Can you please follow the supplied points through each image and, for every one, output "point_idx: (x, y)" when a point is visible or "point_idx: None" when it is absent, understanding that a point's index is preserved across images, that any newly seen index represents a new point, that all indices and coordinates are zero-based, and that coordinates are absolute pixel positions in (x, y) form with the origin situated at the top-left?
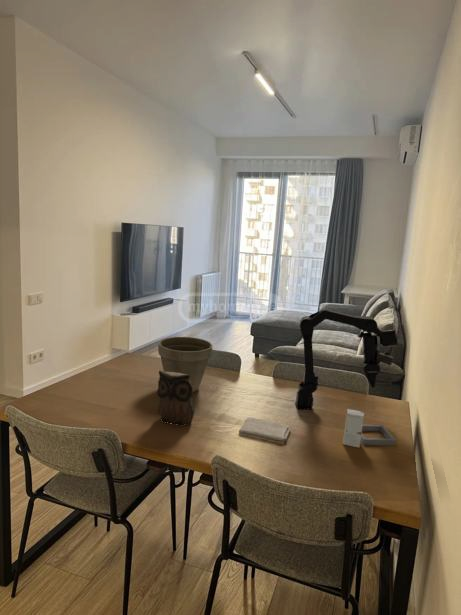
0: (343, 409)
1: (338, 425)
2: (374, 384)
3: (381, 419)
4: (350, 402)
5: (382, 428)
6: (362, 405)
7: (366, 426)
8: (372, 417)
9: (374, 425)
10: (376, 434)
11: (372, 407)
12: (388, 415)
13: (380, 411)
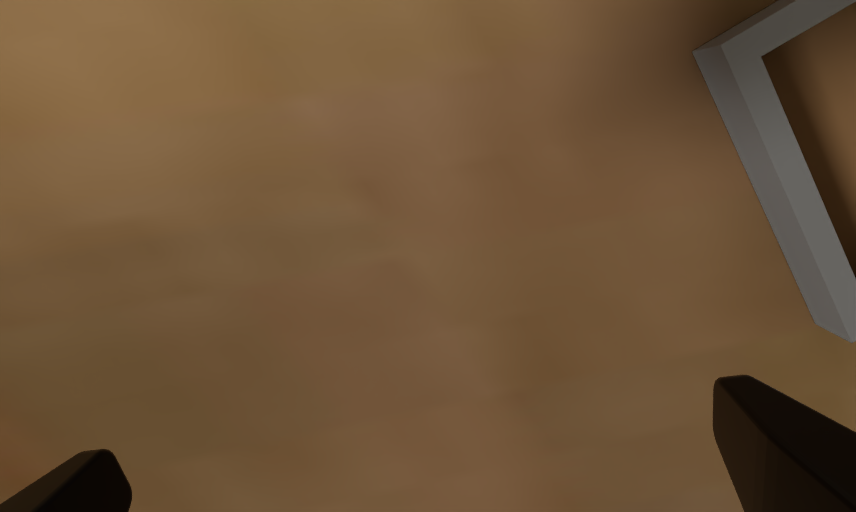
0: (393, 492)
1: None
2: (834, 434)
3: (409, 105)
4: (160, 477)
5: (788, 38)
6: (151, 358)
7: (819, 209)
8: (415, 203)
9: (775, 134)
10: (830, 90)
11: (128, 254)
12: (239, 48)
13: (182, 153)
